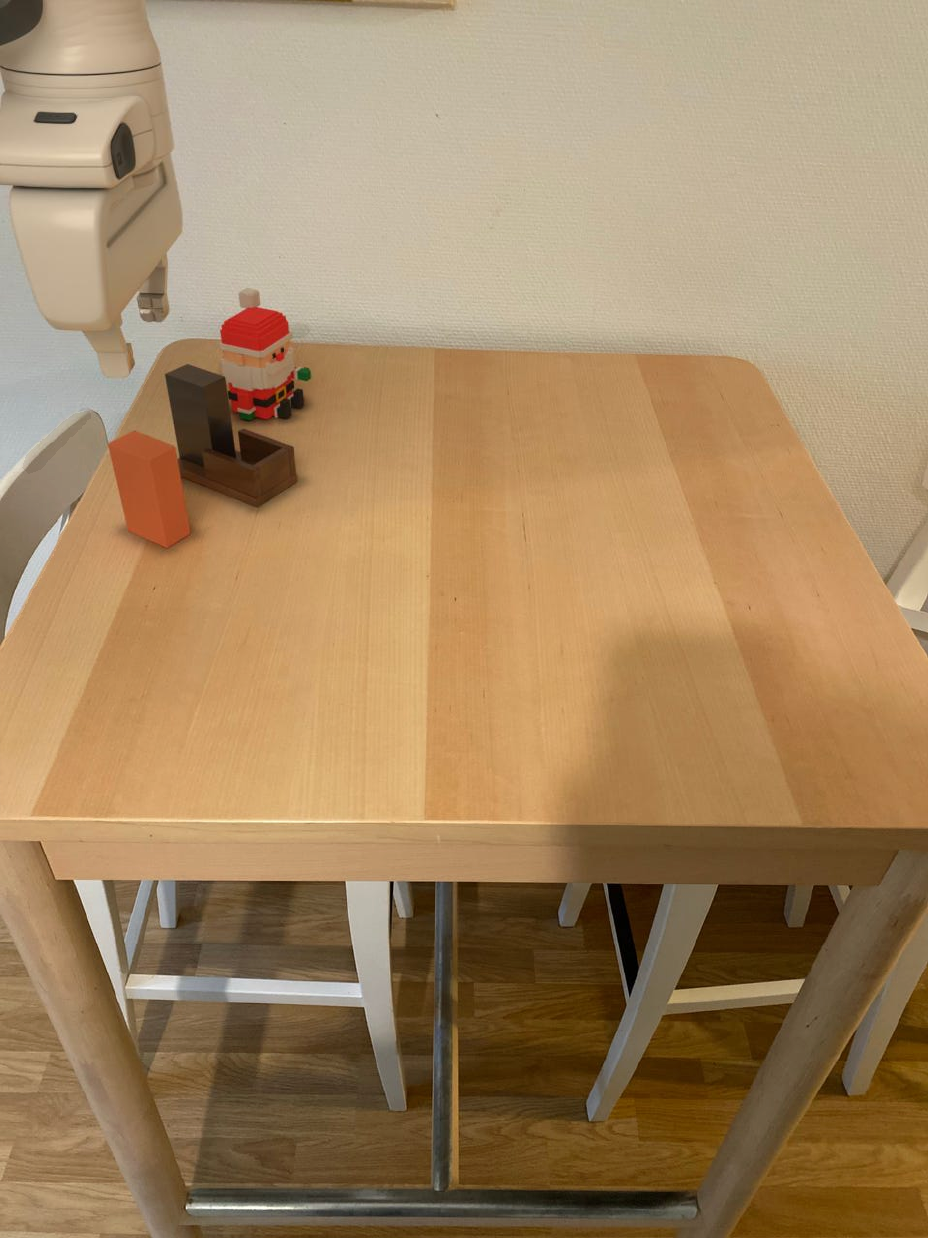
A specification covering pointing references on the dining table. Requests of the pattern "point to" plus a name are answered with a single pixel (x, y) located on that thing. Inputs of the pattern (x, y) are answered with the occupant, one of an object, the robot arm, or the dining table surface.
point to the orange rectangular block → (150, 488)
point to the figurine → (260, 361)
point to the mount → (223, 441)
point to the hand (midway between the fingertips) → (139, 344)
